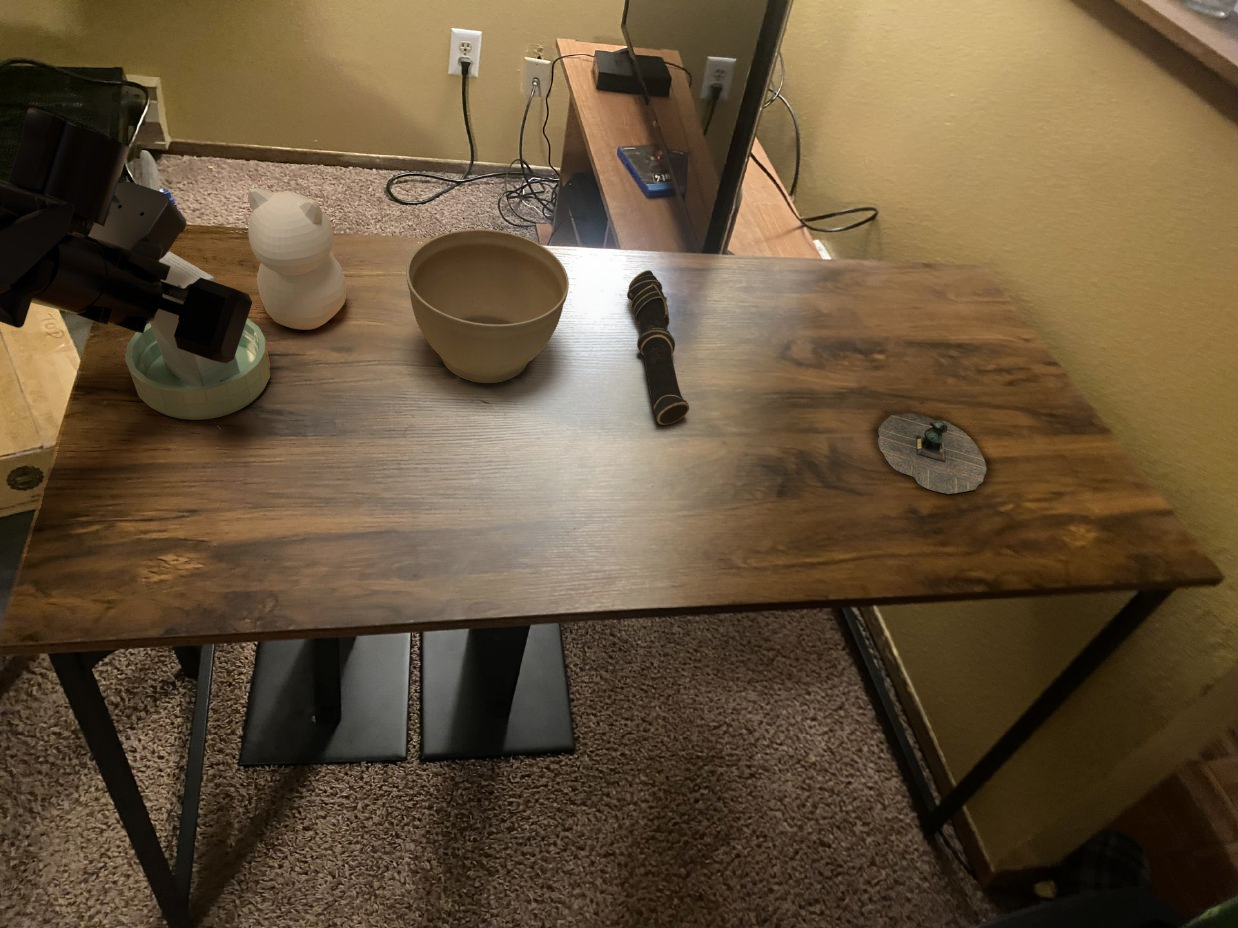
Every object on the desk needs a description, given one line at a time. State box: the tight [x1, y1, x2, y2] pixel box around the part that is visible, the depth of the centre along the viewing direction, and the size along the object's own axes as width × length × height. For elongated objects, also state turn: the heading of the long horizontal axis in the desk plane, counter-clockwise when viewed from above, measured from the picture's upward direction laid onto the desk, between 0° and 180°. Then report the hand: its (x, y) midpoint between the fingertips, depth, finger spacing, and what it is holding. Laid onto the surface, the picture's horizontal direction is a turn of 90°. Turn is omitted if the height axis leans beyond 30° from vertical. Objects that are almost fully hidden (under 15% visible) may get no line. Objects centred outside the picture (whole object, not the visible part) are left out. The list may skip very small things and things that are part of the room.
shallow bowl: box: [124, 317, 271, 421], centre depth 82 cm, size 12×12×4 cm
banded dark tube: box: [626, 269, 690, 426], centre depth 95 cm, size 4×5×25 cm
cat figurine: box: [247, 187, 348, 331], centre depth 87 cm, size 9×12×15 cm
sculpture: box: [877, 412, 987, 495], centre depth 92 cm, size 12×9×8 cm
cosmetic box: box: [148, 251, 240, 387], centre depth 78 cm, size 6×4×12 cm
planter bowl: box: [405, 228, 570, 384], centre depth 88 cm, size 16×16×11 cm
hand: (198, 314), depth 79 cm, fingers closed on cosmetic box, 6 cm apart
